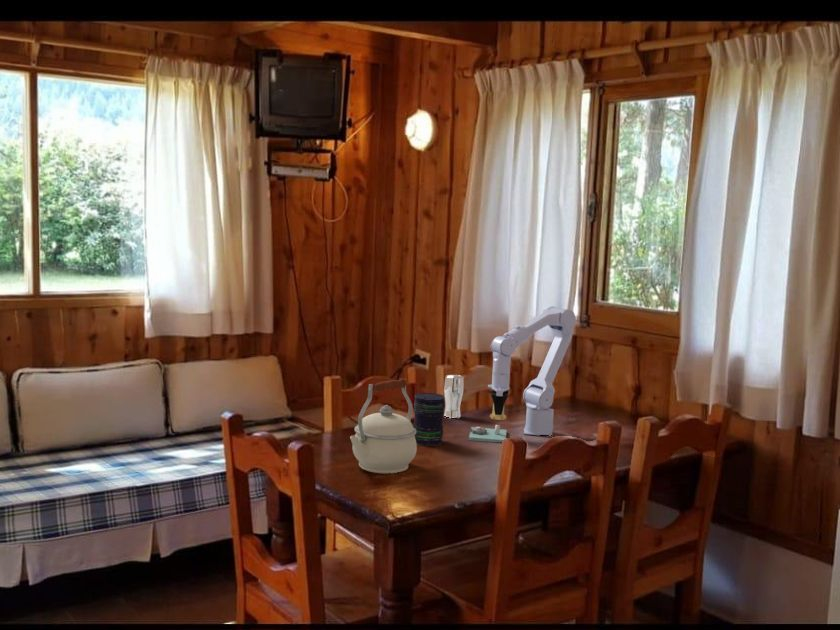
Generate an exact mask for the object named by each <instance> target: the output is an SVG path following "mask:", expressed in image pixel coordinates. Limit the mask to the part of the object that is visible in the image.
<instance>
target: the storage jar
mask: <svg viewBox="0 0 840 630" xmlns="http://www.w3.org/2000/svg"><path fill="white" fill-rule="evenodd" d="M445 408H446V403H445V395H443V394H439V393H435V392H420V393H419V392H418V393H416V394H414V402H413V413H414V417H413V418H414V421H413V423H412V425H413V428H415V429H416V434H415V435H414V436H415V439H416V444H417V445H420V446H427V447H435V446H439V445H441V444H443V436H444V424H443V423H444V413H445Z"/></svg>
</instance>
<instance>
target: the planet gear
mask: <svg viewBox="0 0 840 630" xmlns="http://www.w3.org/2000/svg"><path fill="white" fill-rule="evenodd" d="M505 405H506V404H504V407H503V412H502V415H495V411H494V402H493V401H492V413H490V414H489V418H490V419H492V420H497V421H498V420H501V421H504V420H506V419H507V415H506V414H505Z"/></svg>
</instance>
